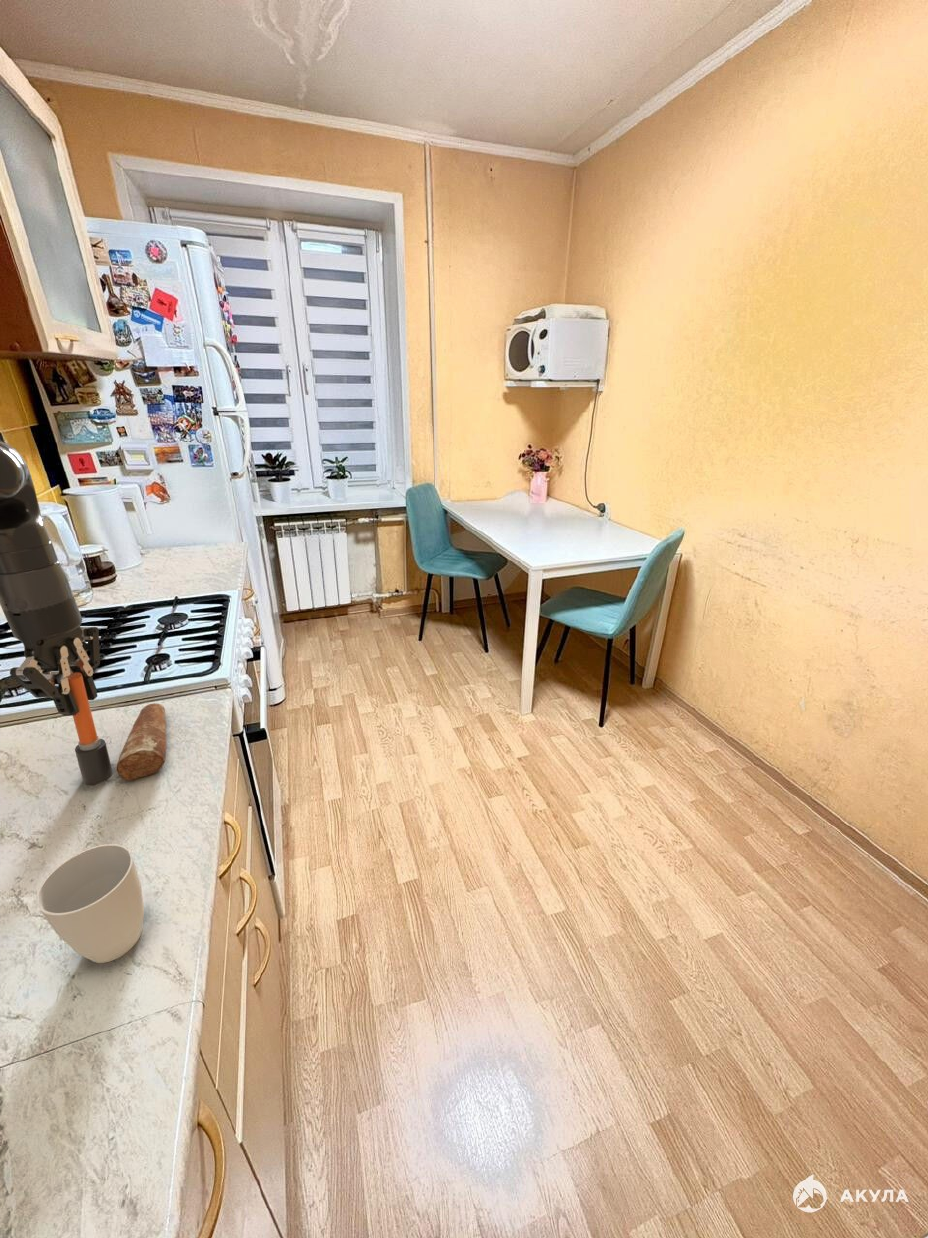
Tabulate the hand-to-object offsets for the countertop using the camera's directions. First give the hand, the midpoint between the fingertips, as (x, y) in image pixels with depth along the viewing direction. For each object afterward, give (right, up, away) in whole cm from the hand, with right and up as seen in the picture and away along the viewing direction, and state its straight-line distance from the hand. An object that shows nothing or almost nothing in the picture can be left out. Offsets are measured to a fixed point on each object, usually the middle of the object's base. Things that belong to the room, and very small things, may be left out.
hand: (80, 706), depth 73 cm
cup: (+18, -23, -18) cm, 34 cm away
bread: (+3, -9, +12) cm, 15 cm away
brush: (-1, -12, +5) cm, 13 cm away
